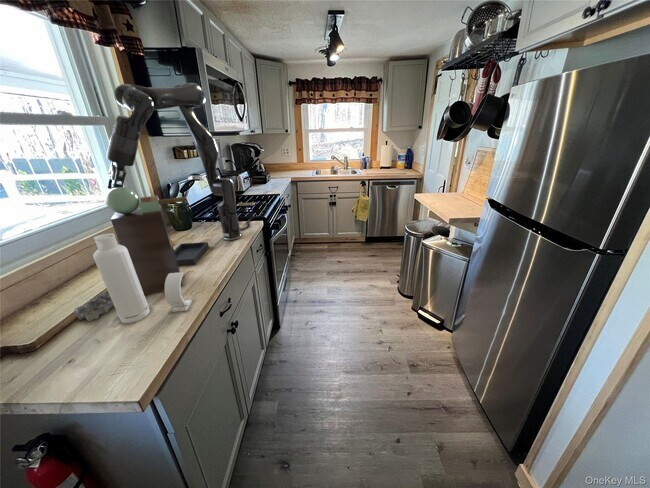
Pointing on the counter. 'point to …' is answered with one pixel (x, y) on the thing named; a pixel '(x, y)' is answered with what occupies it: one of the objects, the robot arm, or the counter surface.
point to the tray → (190, 253)
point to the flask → (128, 201)
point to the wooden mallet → (164, 201)
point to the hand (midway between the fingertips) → (112, 192)
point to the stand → (147, 247)
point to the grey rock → (94, 307)
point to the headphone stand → (175, 292)
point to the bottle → (120, 278)
